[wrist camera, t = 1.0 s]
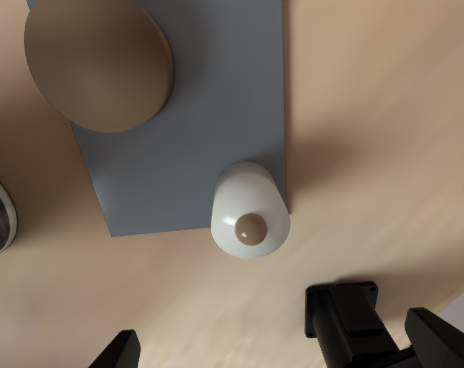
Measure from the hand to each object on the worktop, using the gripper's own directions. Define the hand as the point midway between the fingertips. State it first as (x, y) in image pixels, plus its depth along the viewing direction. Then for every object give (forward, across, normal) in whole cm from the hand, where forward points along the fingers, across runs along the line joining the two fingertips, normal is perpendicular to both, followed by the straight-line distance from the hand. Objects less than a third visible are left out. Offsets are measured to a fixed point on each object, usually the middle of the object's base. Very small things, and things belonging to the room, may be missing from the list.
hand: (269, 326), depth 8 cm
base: (+11, +7, -9) cm, 16 cm away
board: (+12, +4, -5) cm, 13 cm away
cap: (+11, 0, 0) cm, 11 cm away
